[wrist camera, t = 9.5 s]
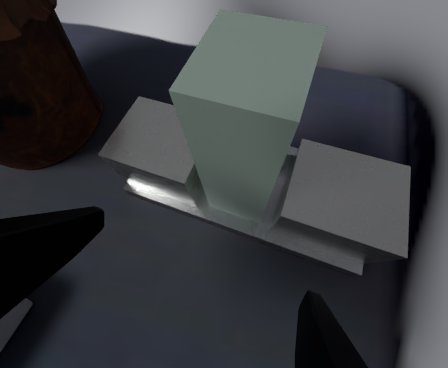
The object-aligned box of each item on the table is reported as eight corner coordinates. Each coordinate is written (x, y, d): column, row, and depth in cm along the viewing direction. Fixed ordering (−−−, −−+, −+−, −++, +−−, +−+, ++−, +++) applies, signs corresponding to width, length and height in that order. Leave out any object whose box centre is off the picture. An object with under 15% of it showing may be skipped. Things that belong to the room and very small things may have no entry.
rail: (352, 275, 17) (412, 272, 11) (130, 194, 21) (89, 161, 15) (363, 189, 20) (415, 151, 14) (166, 132, 24) (143, 84, 18)
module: (259, 223, 18) (299, 122, 7) (209, 206, 19) (168, 90, 7) (274, 173, 20) (327, 26, 8) (229, 159, 21) (220, 9, 9)
